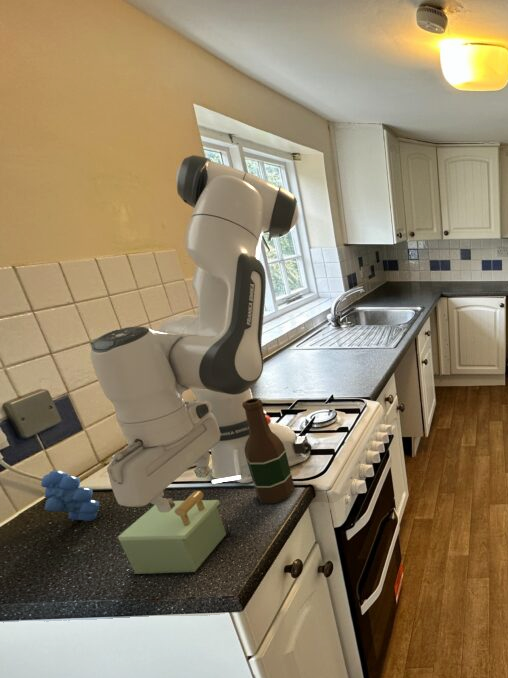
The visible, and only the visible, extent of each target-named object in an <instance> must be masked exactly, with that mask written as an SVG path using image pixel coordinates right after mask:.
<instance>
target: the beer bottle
mask: <svg viewBox="0 0 508 678" xmlns="http://www.w3.org/2000/svg"><path fill="white" fill-rule="evenodd" d="M263 405H264V402H263V401H262V400H261V399H260V398H257V397H256V398H254V397H253V399H249V400H246V401H245V402H243V406H242V407H243V408H244V409H245V412H246V417H247V422H248V427H249V438H248V440H247V442H246V444H245V456H246V460H247V463H248V467H249V470H250V473H251V477H252V480H253V481H252V483H253V487H254V491H255V493H256V495H257V498H258V499H259V501H260V502H261V503H262V504H276V503H279V502H281V501H283V500H286V499H288V498H289V497H290V496H291V494H292V493H293V492H294V491H295V485H294V483H295V482H294V480H293V476H292V472H291V466H290V467H289V463H288V459H287V455H286V451H285V448H284V445H283V443H282V441H281V440H280V439H279V437H278V436H277V435H276V434H275V433H273V432H272V431H271V430H270V428H269V425H268V422H267V419H266V416H265V414H264V411H265V410H264V411H263V409H264V407H263Z"/></svg>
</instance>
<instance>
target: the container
mask: <svg viewBox="0 0 508 678" xmlns="http://www.w3.org/2000/svg"><path fill="white" fill-rule="evenodd" d="M226 535H227V532H226V529H225V526H224V523H223V519H222V517H221V514H220V512H219V508H218V506H217V507H216V508H215V509H214V510H213V511H212V512H211V513H210V514H209V515H208V516H207V517H206V518H205V519H204V521H203V522H202V523H201V524H200V525H199V526H198V527H197V528H196V529H195V530H194V531H193V532H192V533H191V534H190V535H189V536H188V537H187V538H186V539H155V540H119V543H120V545H121V547H122V549H123V551H124V554H125V556H126V558H127V560H128V562H129V564H130V566H131V568H132V570H133V572H134V574H135V575H140V574H144V575H145V574H170V573H172V574H173V573H174V574H175V573H176V574H177V573H195V572H196V571H197V570H198V569H199V568H200V567H201V565H202V564H203V563H204V562H205V561H206V559H207V558H208V557H210V554H211V553H212V552H213V551H214V550H215V549H216V548H217V546H218V545H219V543H221V542H222V540H223V539H224V538H225V537H226Z"/></svg>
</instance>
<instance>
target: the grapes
mask: <svg viewBox="0 0 508 678" xmlns="http://www.w3.org/2000/svg"><path fill="white" fill-rule="evenodd" d="M40 484H41V485H40V486H41V488H42V487H43V488H45V489H44V498H47V500H46V501H45V504H44V511H48V512H52V513H58V512H68V519H71V520H75V521H84V522H91V521H94V520H95V519H96V518H97V516H98V512H99V510H100V501H99V500H95V499H92V498H93V495H94V492H93V491H94V490H93V489H92V488H89V487H84V486H83V487H82V486H80V485H81V478H80V477H78V476H75V475H69V474H68V472H65V471H63V470H51V471H50V472H49V473H48V474H44V476H42V478H41V482H40Z"/></svg>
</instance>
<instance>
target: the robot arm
mask: <svg viewBox="0 0 508 678" xmlns="http://www.w3.org/2000/svg"><path fill="white" fill-rule="evenodd" d="M175 185H176V192H177V195H178V196H179V197H180V198H181V200H182V201H183V202H184V203H185V204H187V205H188V206H189V207H192V208H193V210H192V214H191V216H190V219H189V222H188V225H187V228H186V231H185V237H184V238H185V239H184V244H185V245H184V247H185V250H186V252H187V255H188V257H190V259H191V260H192V262H193V263H194V264H195V265H196V266H195V269H194V273H193V277H192V281H191V285H192V289H193V290H194V292H195V294H196V295H195V296H196V301H197V314H181V315H177V316H173V317H170V318H168V319H166V320H165V321H163V323H162V324H161V325H160V327H159V328H158V331H156V330H153V329H151V328H149V327H146V326H139V325H138V326H128V327H124V328H119V329H115V330H112V331H109V332H106V333H104V334H103V335H101V336H99V337H98V338H96V340H94V341H93V342H92V344H91V346H90V360H91V364H92V368H93V370H94V374H95V376H96V378H97V381H98V383H99V386H100V388H101V390H102V393H103V394H104V396H105V397H106V398H107V399H108V400H109V401H110V403H112V405H113V407H114V416H115V419H116V421H117V423H118V426H119V428H120V431H121V432H122V434H123V436H124V438H125V440H126V442H127V444H128V445H126V446H125V447H124V448H122V450H119V451H118V452H115V453H114V454H113V455H112V456H111V460H110V462H109V463H108V466H107V467H106V471H107V473H108V479H109V483H110V487H111V489H112V492H113V495H114V498H115V501H116V502H117V504H118V505H119V506H121V507H126V508H127V507H128V508H135V507H136V508H137V507H145V506H147V505H148V504H152V505H153V506H154V505H156V506H157V508H158V510H159V512H169V511H170V510H171V509H172V508H173V507H174V506H175V503H174V501H175V500H174V499H173V498H172V497H171V498H170V497H168V498H164V496H165V493H164V491H165V490H166V489H167V488H168V487H169V486H170V485H171V484H172V483H173V482H175V481H176V480H177V479H178V478H179V477H180V476H181V475H183V474H184V473H185V472H187V471H188V470H189V469H190V468H191V467H192V466H194V464H195V465H196V467H195V468H194V469H193V472H194V474H195V476H196V477H197V478H198V479H199V478H200V479H201V478H203V479H204V478H206V477H207V476H208V475H209V474H210V473H211V476H212V478H214V479H212V480H211V483H212V484H219V483H223V482H236V483H240V484H248V483H251V482H252V483H253V480H252V477H251V473H250V470H249V467H248V463H247V460H246V456H245V444H246V442H247V440H248V438H249V427H248V422H247V417H246V412H245V409H244V408H243V407H242V406H243V402H245V401H246V400H249V399H253V398H254V397H253V393H252V390H251V388H253V386H254V385H256V383H257V382H258V381H259V380H260V378H261V377H262V374H263V371H264V355H263V345H262V341H263V340H262V339H263V327H264V316H265V301H266V287H267V285H266V283H267V281H266V280H267V279H266V277H267V276H266V270H265V267H264V265H263V263H262V262H261V261H260V254H261V245H262V236H263V234H268V236H267V237H268V238H267V242H272V240H273V239H276V238H278V239H279V238H282V237H285V236H287V235H289V234H290V232H291V231H292V230H293V229H295V227H296V225H297V223H298V220H299V206H298V204H297V203H298V200H297V198H296V196H295V195H294V194H293V193H291V192H290V191H288V190H287V189H286V188H284V187H282V186H280V187H279V186H277V185H275V184H274V183H271V182H270V181H268V180H266V179H264V178H261V177H260V176H257V175H255V174H253V173H250V172H245V171H244V170H240V169H238V168H235V167H233V166H229V165H226V164H223V163H220V162H216V161H213V160H212V159H211V158H210V157H209V158H208V157H205V156H200V155H196V154H195V155H194V154H192V155H190V156H186V157H184V159H183V160H182V162H181V163H180V164H179V166H178V167H177V169H176V173H175ZM188 390H191V392H192V394H193V396H194V399H195V400H189V401H188V400H187V401H185V399H184V397H183V393H184V392H186V391H188ZM263 411H264V414H265V416H266V419H267V422H268V425H269V428H270V430H271V431H272V432H273V433H275V434H276V435H277V436H278V437H279V439H280V440H281V441H282V443H283V445H284V448H285V451H286V455H287V459H288V463H289V467H290V468H291V467H292V466H295V465H297V464H300V463H302V462H306V461H307V460H308V459H309V457H310V455H311V450H312V445H311V444H310V443H309V441H308V437H307V435H296V433H295V431H294V430H293V429H292V428H291V427H289V426H288V425H286V424H282V423H279V422H275V421H272V419H271V416H270V415H268V414H267V411H265V409H264V408H263ZM210 457H211V469H210V467H209V465H210Z"/></svg>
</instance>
